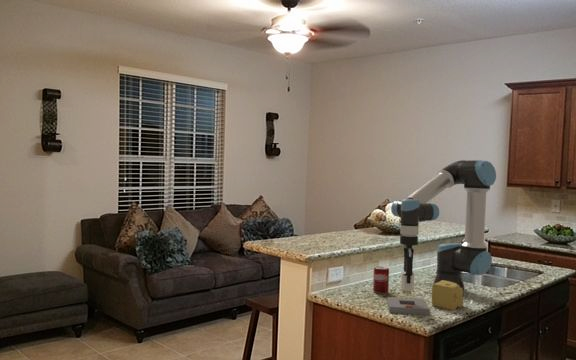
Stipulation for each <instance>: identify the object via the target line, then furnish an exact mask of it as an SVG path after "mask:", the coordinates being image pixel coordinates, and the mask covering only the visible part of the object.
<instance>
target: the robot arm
mask: <svg viewBox="0 0 576 360" xmlns="http://www.w3.org/2000/svg"><path fill="white" fill-rule="evenodd" d="M496 180H497V172H496V168H495V166H494V165H493V164H492V162H490V161H488V160H483V159H482V160H480V159H479V160H466V159H465V160H464V159H462V160H457V161H455V162H452V163H450V164H448V165H446V166H445V167H443V168H441V169H440V170H439V171H438V172H437V174H436V176H434V177H433V178H432V179H430V180H429V181H428V182H426V183H425V184H423V185H422V186H421V187H420V188H418V189H417V190H415V191H414V192H412V193H411V194H410V195H409V196H407V197H406V198H405V199H402V200H395V201H393V203H392V204H391V207H390V211H391V214H392V215H393V216H394V217H397V218H400V226H399V227H398V229H399V231H400V233H399V234H400V236H399V243H400V245H403V246H404V247H403V268H402V269H403V272H406V274H404V276H405V292H406V291H411V285H412V274H413V273H414V272H413V268H414V267H413V265H414V253H415V251H414V250H415V249H414V248H413V246H417V245H418V244H419V237H418V235H419V227H420V226H419V222H423V221H424V222H426V221H427V222H429V221H430V222H431V221H435V220H437V219H438V218H439V216H440V208H439V206H438V205H437V204H435V203H430V201H432V199H434V198H436V197H437V195H440V194H441V193H442V192H443V191H445V190H446V189H447V188H448V189H449V188H452V187H453V186H455V185H463V189H464V190H465V191H466V206H465V207H466V208H465V228H464V241H463V243H460V242H459V243H457V242H454V243H452V242H451V243H440V244H438V246H437V251H436V253H437V254H436V274H435V277H434V280H433V283H432V285H433V284H435V283H438V282H440V281H441V280H445V281H449V282H453V283H457V284H458V285H460V288H462V290H463V293H464V292H465V284H464V280H463V276H462V273H467V274H471V275H476V276H483V275H485V274H486V273H488V271H490V270H489V269H490V268H491V266H492V262H493V261H492V260H493V258H492V257H493V256H492V254H491V253H490V252H489V251H488V247H487V245H486V244H485V243H484V242H485V225H486V224H485V223H486V221H485V220H486V208H487V207H486V203H487V193H488V192H489V191H490V190H491V186H492V185H493V186H494V184H495V182H496ZM428 202H429V203H428ZM412 272H413V273H412ZM411 292H412V291H411Z"/></svg>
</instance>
